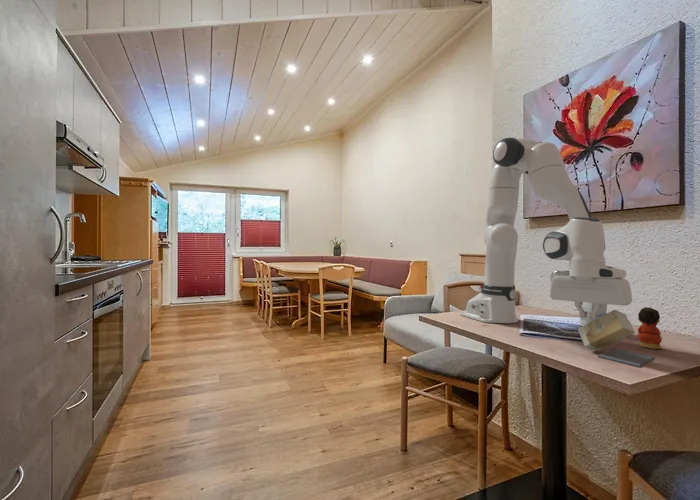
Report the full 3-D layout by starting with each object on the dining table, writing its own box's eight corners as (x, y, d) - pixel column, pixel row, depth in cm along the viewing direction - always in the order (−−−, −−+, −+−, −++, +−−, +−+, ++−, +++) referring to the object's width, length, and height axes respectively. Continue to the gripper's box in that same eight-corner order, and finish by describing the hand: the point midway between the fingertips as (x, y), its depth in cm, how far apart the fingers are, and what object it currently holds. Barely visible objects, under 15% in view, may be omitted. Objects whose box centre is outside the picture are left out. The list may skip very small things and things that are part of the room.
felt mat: (597, 357, 93) (597, 355, 93) (614, 349, 100) (614, 348, 100) (638, 367, 86) (638, 365, 86) (654, 358, 92) (654, 356, 92)
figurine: (666, 351, 98) (668, 310, 98) (643, 349, 100) (644, 309, 100) (655, 345, 104) (657, 306, 104) (633, 343, 106) (634, 305, 106)
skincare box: (576, 328, 102) (613, 307, 94) (588, 333, 103) (625, 312, 95) (585, 347, 97) (624, 327, 89) (596, 352, 98) (636, 332, 90)
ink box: (578, 326, 126) (579, 295, 126) (594, 327, 125) (595, 296, 125) (590, 332, 118) (591, 299, 118) (607, 333, 117) (607, 300, 117)
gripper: (545, 270, 107) (546, 314, 106) (624, 271, 89) (626, 324, 89) (555, 270, 110) (556, 312, 109) (633, 271, 93) (635, 321, 92)
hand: (588, 317), depth 99 cm, fingers closed
